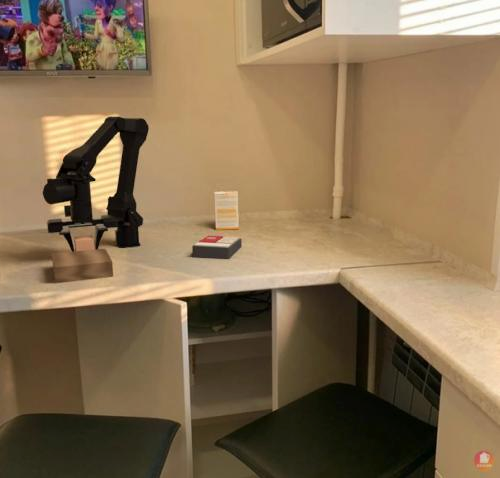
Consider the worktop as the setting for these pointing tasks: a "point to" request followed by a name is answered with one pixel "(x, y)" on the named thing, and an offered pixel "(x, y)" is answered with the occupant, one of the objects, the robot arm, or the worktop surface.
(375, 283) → the worktop surface
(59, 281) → the walnut base
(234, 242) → the red white black box
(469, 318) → the worktop surface
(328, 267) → the worktop surface
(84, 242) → the terracotta block
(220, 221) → the supplement box
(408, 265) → the worktop surface
